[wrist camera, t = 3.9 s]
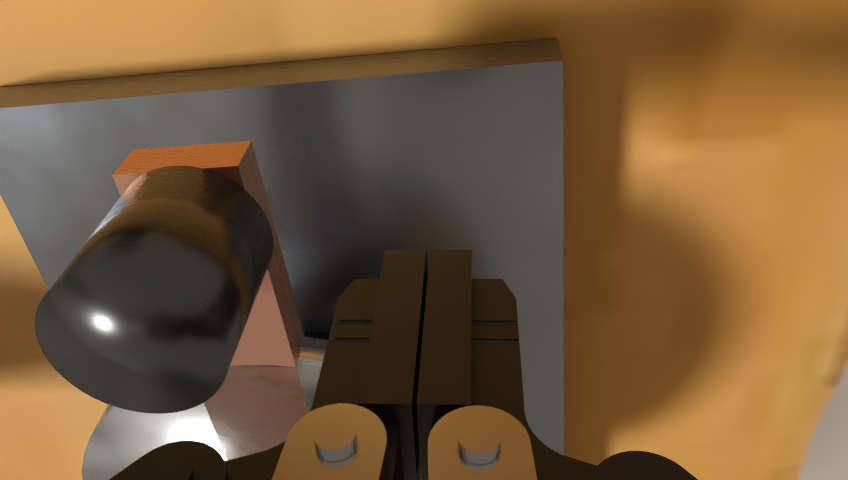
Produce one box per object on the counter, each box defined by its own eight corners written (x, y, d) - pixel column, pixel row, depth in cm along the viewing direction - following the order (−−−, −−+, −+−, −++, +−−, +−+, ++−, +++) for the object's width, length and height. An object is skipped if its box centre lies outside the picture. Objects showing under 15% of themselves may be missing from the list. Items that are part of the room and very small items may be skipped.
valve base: (-9, 88, 19) (-138, 181, 15) (556, 38, 18) (582, 127, 14) (200, 532, 31) (159, 654, 27) (560, 526, 29) (574, 655, 25)
